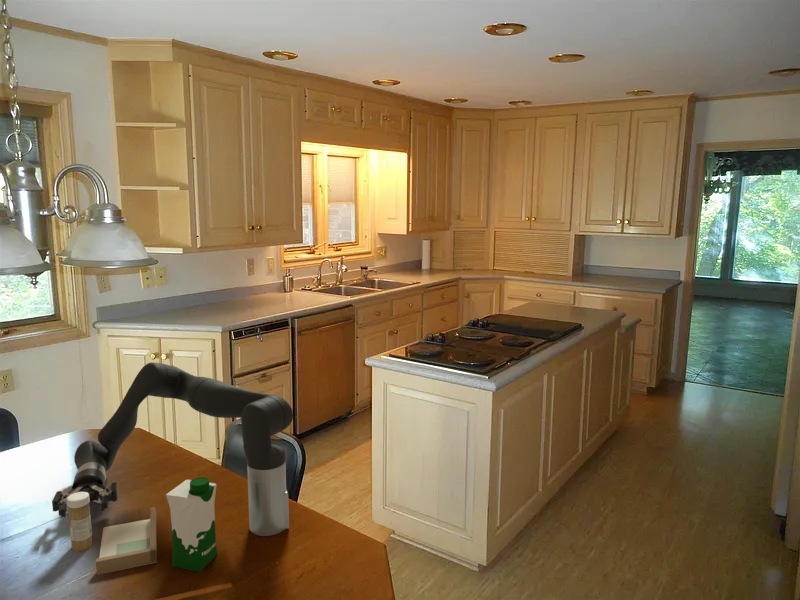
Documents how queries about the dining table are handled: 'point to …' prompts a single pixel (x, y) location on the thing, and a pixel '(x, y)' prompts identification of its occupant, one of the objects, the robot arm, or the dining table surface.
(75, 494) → the sprinkles bottle
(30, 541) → the dining table surface
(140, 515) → the dining table surface
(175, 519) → the milk carton
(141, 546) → the pad
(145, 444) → the dining table surface
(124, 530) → the tray
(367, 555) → the dining table surface
